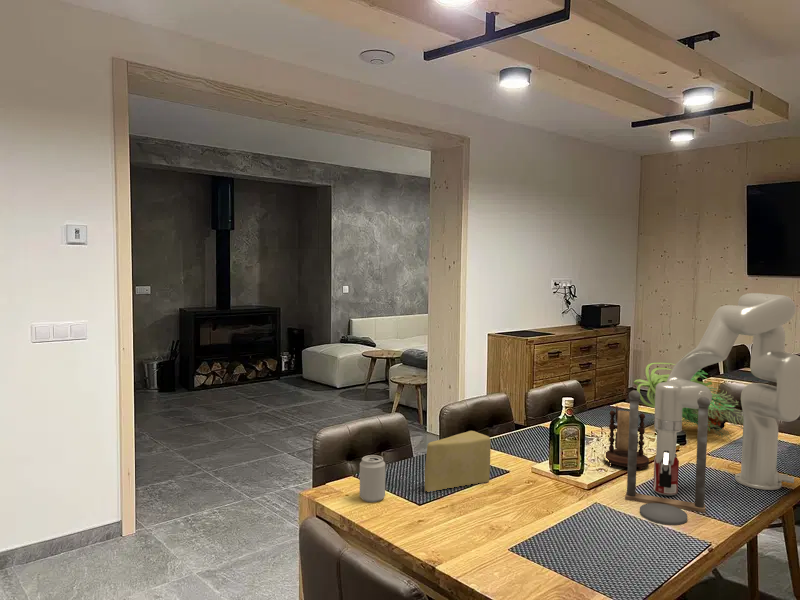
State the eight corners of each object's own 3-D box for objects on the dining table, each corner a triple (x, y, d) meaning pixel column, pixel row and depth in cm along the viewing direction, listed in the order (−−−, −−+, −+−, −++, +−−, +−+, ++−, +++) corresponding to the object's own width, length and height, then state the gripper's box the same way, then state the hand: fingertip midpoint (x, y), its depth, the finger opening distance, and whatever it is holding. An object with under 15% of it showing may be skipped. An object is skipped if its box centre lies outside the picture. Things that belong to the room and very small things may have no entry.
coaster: (687, 511, 169) (687, 507, 169) (687, 528, 158) (687, 524, 158) (641, 503, 174) (641, 500, 174) (638, 519, 163) (638, 516, 163)
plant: (766, 429, 224) (671, 379, 223) (701, 476, 246) (614, 431, 245) (749, 367, 251) (664, 323, 250) (693, 415, 273) (614, 374, 272)
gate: (705, 508, 171) (710, 396, 169) (705, 512, 168) (710, 398, 166) (625, 495, 180) (629, 388, 178) (624, 499, 177) (628, 391, 175)
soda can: (680, 498, 178) (681, 458, 177) (655, 496, 180) (657, 456, 179) (674, 489, 185) (676, 451, 184) (651, 487, 186) (652, 449, 185)
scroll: (601, 467, 204) (603, 409, 203) (604, 454, 218) (606, 400, 216) (648, 474, 198) (650, 413, 197) (648, 460, 212) (650, 404, 211)
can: (389, 495, 178) (389, 455, 178) (378, 505, 172) (378, 463, 171) (367, 491, 181) (367, 452, 181) (354, 500, 175) (354, 459, 174)
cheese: (436, 498, 177) (436, 448, 176) (416, 487, 185) (416, 439, 184) (491, 482, 190) (492, 435, 189) (470, 473, 198) (471, 428, 197)
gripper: (655, 416, 190) (653, 471, 191) (652, 429, 175) (650, 490, 176) (682, 419, 187) (679, 475, 188) (681, 433, 171) (678, 494, 173)
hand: (665, 482), depth 182 cm, fingers closed on soda can, 6 cm apart
